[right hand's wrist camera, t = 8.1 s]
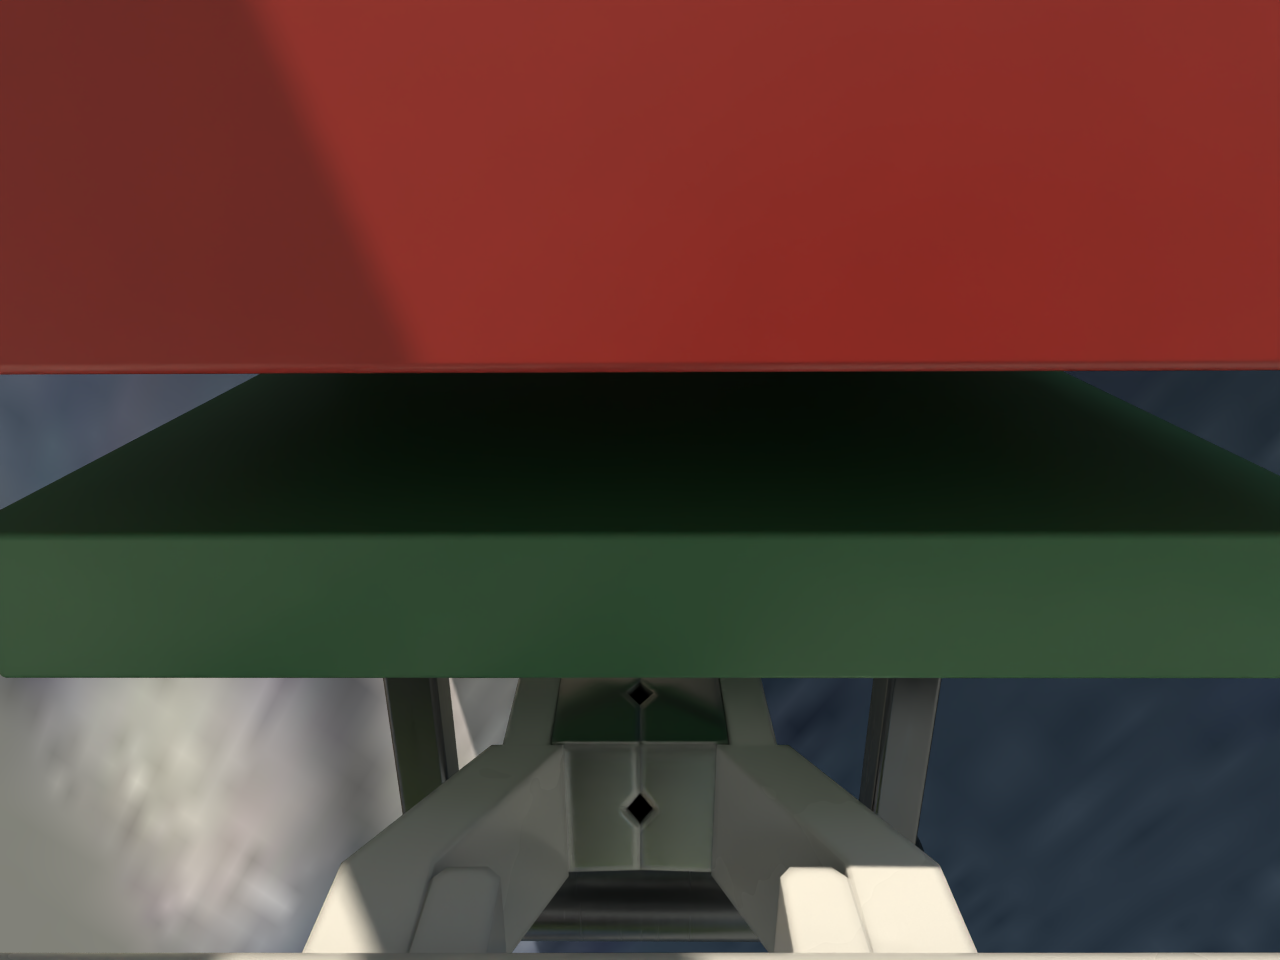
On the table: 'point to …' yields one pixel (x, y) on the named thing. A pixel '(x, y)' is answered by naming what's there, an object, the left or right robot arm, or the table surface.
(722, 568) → the drawer
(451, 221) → the cabinet
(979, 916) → the table surface
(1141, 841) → the table surface
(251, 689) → the table surface
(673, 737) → the right robot arm
